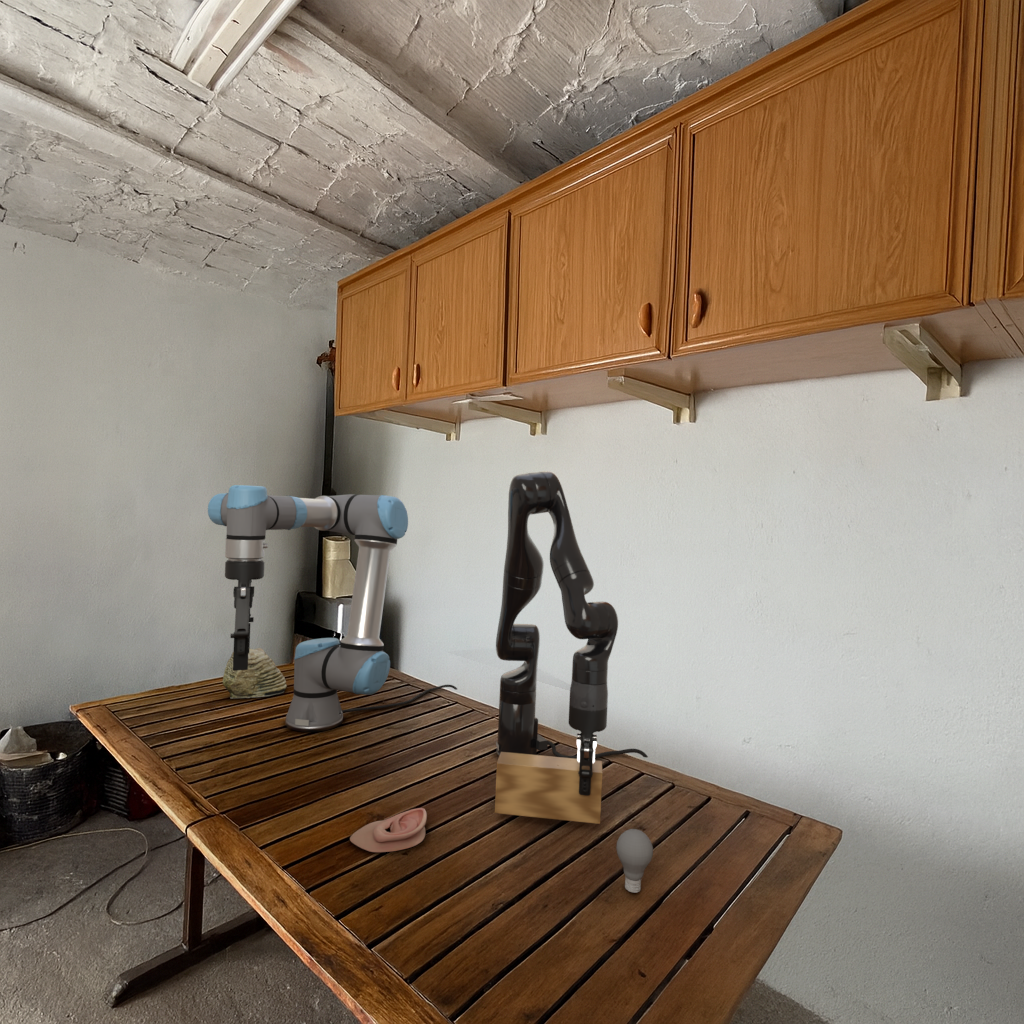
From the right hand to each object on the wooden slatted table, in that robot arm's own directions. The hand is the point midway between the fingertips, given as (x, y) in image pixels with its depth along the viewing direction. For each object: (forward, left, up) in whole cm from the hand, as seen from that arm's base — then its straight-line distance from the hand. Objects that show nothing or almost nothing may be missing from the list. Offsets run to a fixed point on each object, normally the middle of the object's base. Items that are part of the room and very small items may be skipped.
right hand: (584, 786), depth 126 cm
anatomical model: (+36, -11, -8) cm, 39 cm away
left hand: (+61, -39, +20) cm, 75 cm away
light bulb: (+4, +21, -8) cm, 23 cm away
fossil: (+51, -108, -8) cm, 119 cm away
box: (+6, -4, -6) cm, 9 cm away
